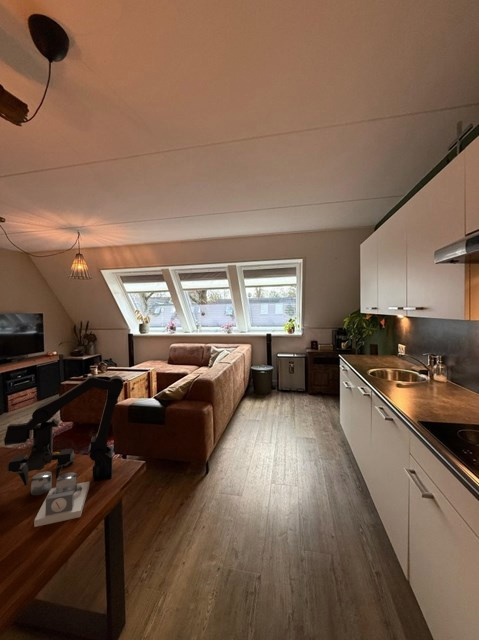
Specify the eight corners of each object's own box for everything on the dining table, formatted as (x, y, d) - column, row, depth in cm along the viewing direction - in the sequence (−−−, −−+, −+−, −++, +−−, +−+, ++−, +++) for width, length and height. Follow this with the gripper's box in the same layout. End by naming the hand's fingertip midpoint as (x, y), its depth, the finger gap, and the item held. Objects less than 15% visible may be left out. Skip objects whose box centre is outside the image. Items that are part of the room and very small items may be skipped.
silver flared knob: (53, 483, 99) (53, 470, 99) (48, 493, 93) (48, 479, 93) (34, 486, 97) (34, 473, 97) (28, 496, 91) (28, 482, 91)
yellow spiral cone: (76, 466, 112) (57, 456, 106) (66, 469, 113) (47, 460, 107) (81, 453, 116) (62, 444, 110) (71, 457, 117) (53, 448, 111)
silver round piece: (78, 485, 93) (78, 471, 93) (74, 495, 88) (75, 480, 88) (58, 488, 91) (59, 474, 91) (53, 499, 85) (53, 484, 86)
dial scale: (89, 486, 97) (89, 467, 97) (80, 516, 82) (80, 494, 82) (51, 494, 93) (51, 474, 93) (34, 527, 78) (34, 503, 78)
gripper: (-1, 454, 84) (-2, 502, 84) (66, 445, 91) (65, 490, 91) (14, 439, 95) (13, 483, 95) (74, 432, 102) (73, 473, 101)
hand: (41, 482), depth 95 cm, fingers open, 9 cm apart
